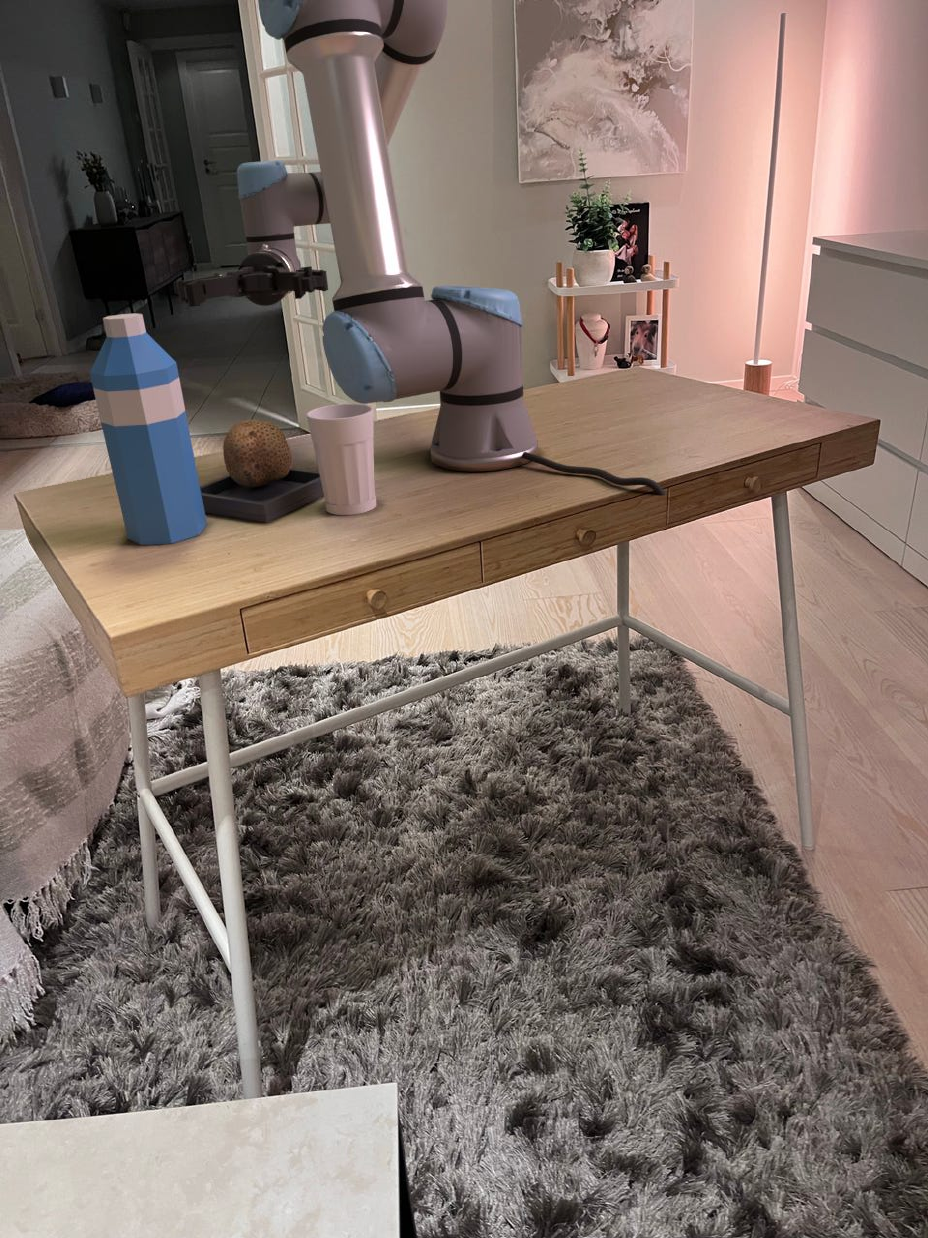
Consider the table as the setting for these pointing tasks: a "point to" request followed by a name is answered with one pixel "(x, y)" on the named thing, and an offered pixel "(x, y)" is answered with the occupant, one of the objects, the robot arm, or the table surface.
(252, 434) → the natural sponge
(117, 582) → the table surface
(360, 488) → the cup
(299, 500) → the soap dish
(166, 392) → the water bottle
